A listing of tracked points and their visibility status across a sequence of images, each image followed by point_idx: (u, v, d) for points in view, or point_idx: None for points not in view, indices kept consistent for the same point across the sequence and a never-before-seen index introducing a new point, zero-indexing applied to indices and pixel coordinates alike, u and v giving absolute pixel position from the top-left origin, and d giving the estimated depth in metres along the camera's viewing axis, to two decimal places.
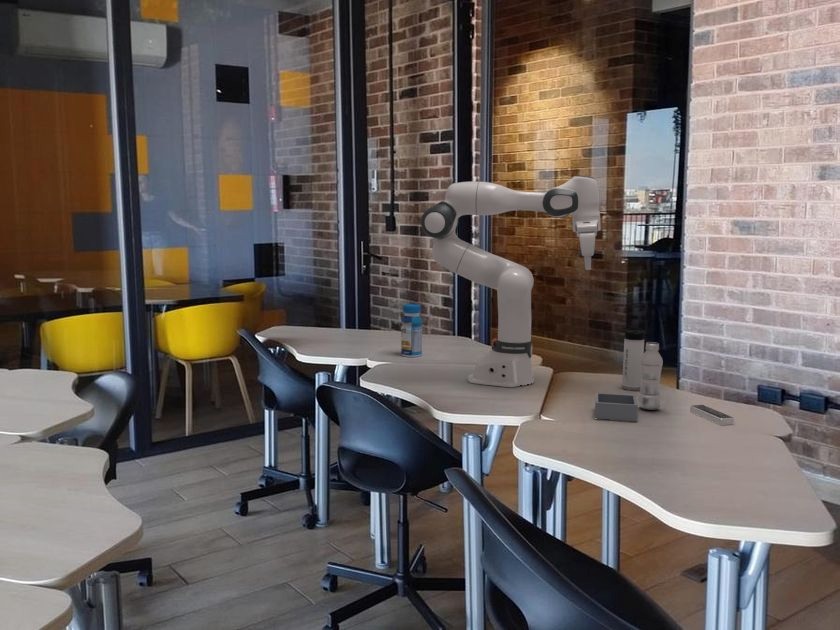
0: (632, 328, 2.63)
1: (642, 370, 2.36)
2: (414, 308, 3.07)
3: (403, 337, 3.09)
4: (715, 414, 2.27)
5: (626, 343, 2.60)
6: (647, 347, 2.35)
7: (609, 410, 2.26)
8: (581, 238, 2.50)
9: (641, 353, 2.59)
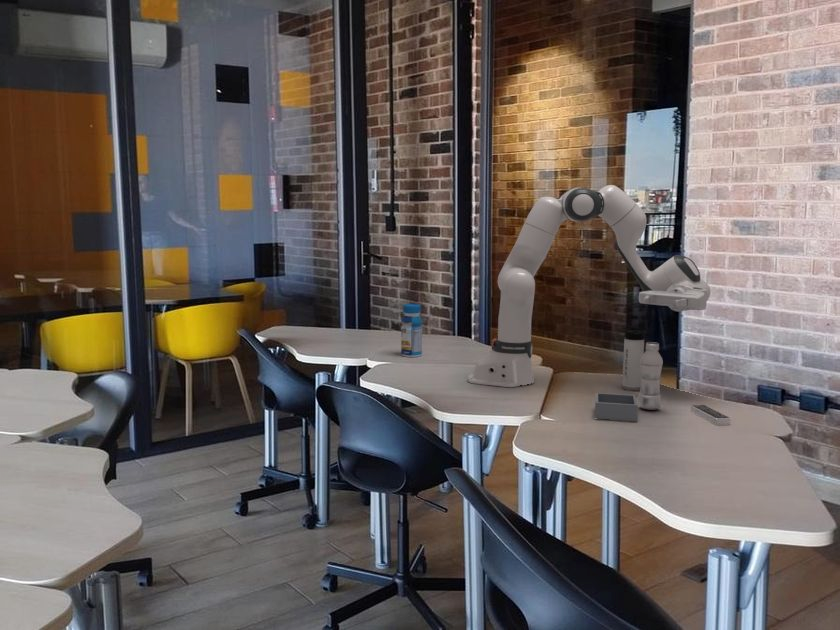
0: (632, 328, 2.63)
1: (642, 370, 2.36)
2: (414, 308, 3.07)
3: (403, 337, 3.09)
4: (712, 414, 2.27)
5: (626, 343, 2.60)
6: (647, 347, 2.35)
7: (609, 410, 2.26)
8: (704, 295, 2.46)
9: (641, 353, 2.59)
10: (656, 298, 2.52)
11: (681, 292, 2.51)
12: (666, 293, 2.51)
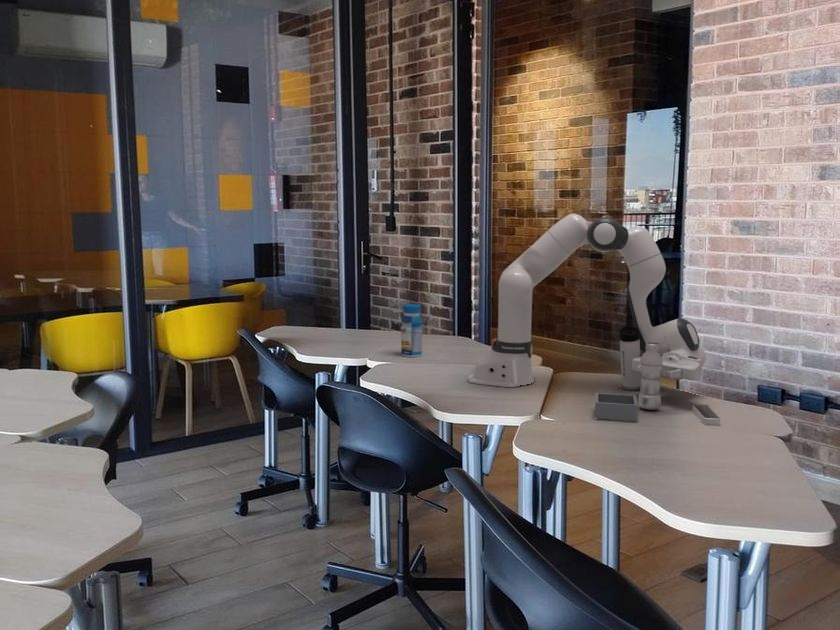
0: (626, 328, 2.60)
1: (642, 370, 2.36)
2: (414, 308, 3.07)
3: (403, 337, 3.09)
4: (705, 414, 2.27)
5: (621, 345, 2.58)
6: (647, 347, 2.35)
7: (609, 410, 2.26)
8: (699, 366, 2.40)
9: (637, 353, 2.58)
10: None
11: (676, 361, 2.45)
12: None
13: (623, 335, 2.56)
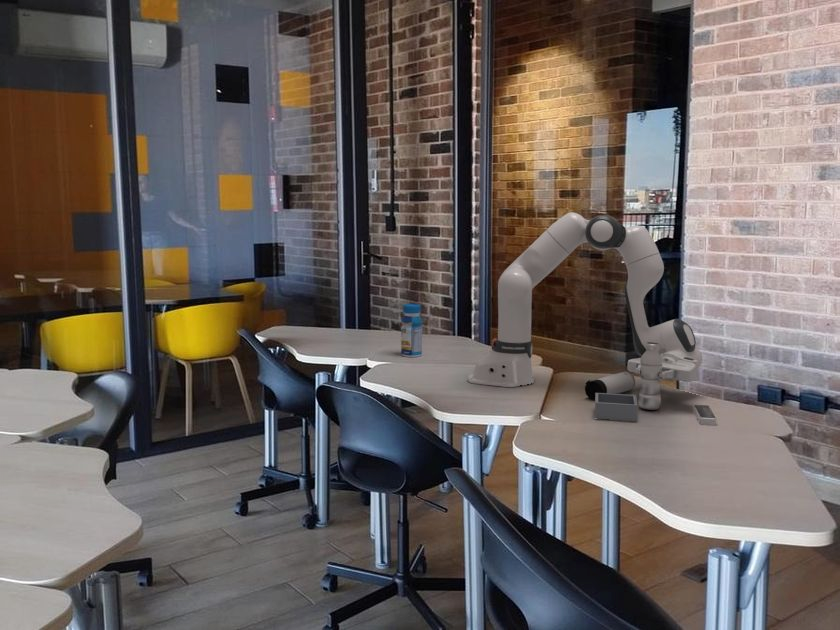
0: (588, 384, 2.48)
1: (642, 370, 2.36)
2: (414, 308, 3.07)
3: (403, 337, 3.09)
4: (702, 414, 2.27)
5: None
6: (647, 347, 2.35)
7: (609, 410, 2.26)
8: (695, 367, 2.37)
9: (614, 390, 2.50)
10: None
11: (671, 362, 2.42)
12: None
13: None
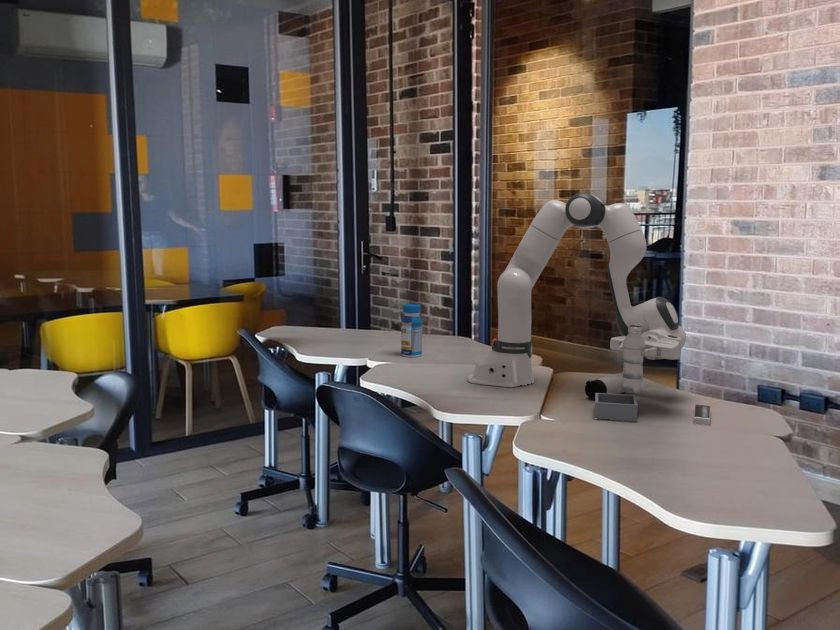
0: (588, 384, 2.48)
1: (624, 353, 2.32)
2: (414, 308, 3.07)
3: (403, 337, 3.09)
4: (698, 413, 2.28)
5: None
6: (629, 330, 2.31)
7: (609, 410, 2.26)
8: (679, 344, 2.33)
9: (614, 390, 2.50)
10: None
11: (655, 340, 2.38)
12: None
13: None
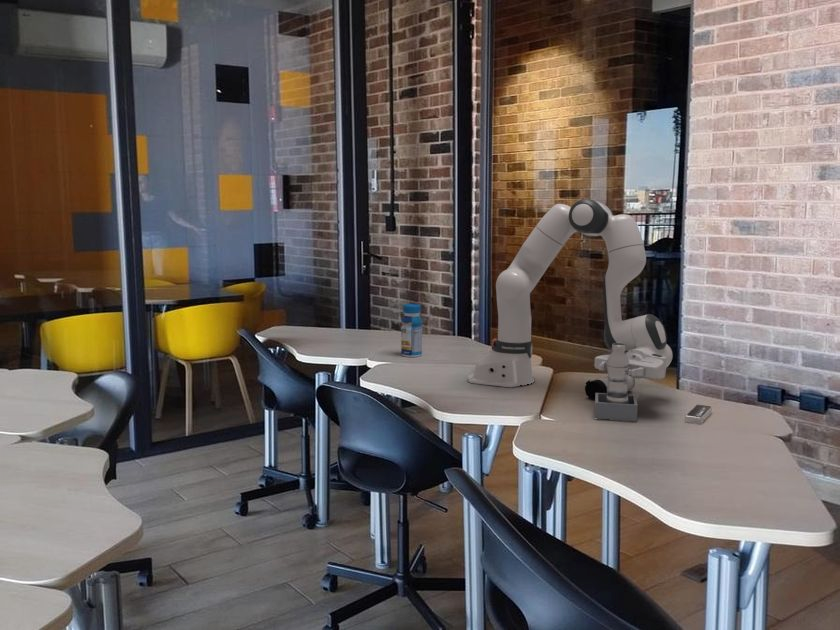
0: (588, 384, 2.48)
1: (608, 372, 2.30)
2: (414, 308, 3.07)
3: (403, 337, 3.09)
4: (693, 412, 2.28)
5: None
6: (613, 348, 2.29)
7: (609, 410, 2.26)
8: (663, 364, 2.30)
9: None
10: None
11: (639, 359, 2.35)
12: None
13: None
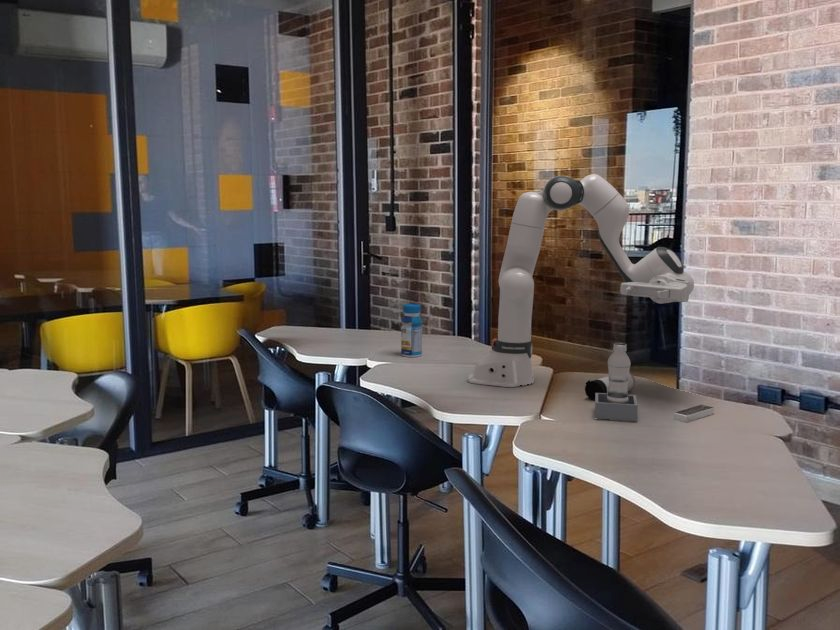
0: (588, 384, 2.48)
1: (609, 372, 2.30)
2: (414, 308, 3.07)
3: (403, 337, 3.09)
4: (685, 411, 2.30)
5: None
6: (614, 348, 2.29)
7: (609, 410, 2.26)
8: (687, 287, 2.41)
9: None
10: (638, 289, 2.47)
11: (663, 284, 2.46)
12: (648, 284, 2.46)
13: None
